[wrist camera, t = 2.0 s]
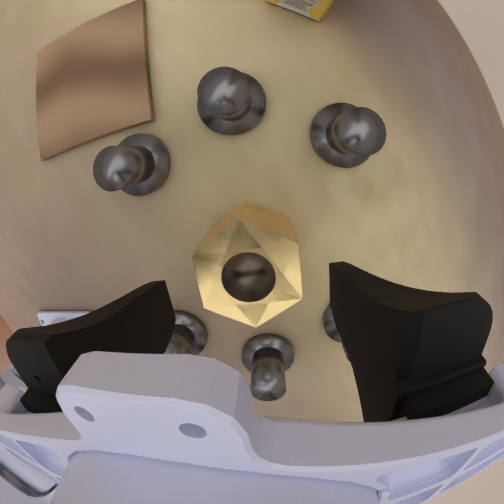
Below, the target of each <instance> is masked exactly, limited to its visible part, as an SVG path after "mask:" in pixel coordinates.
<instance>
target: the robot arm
mask: <svg viewBox="0 0 504 504" xmlns="http://www.w3.org/2000/svg"><path fill="white" fill-rule="evenodd" d="M329 275H330V307H331V311H332V315H333V319H334V323H335V325H336V328H337V330H338V332H339V335H340V337H341V340H342V342H343V344H344V347H345V349H346V352H347V354H348V357H349V359H350V362H351V365H352V368H353V372H354V376H355V380H356V384H357V388H358V393H359V397H360V402H361V407H362V413H363V419H364V422H321V421H305V420H293V419H283V418H274V417H266V416H261V415H259V414H258V413H257V410H256V408H255V406H254V402H253V397H252V393H251V389H250V387H249V386H248V384H247V383H246V381H245V380H244V378H243V376H242V375H241V373H240V372H239V371H237V370H235V369H233V368H231V367H230V366H228V365H226V364H224V363H223V362H221V361H219V360H218V359H214V358H208V357H202V356H196V355H191V354H164V353H165V351H166V349H167V346H168V344H169V342H170V339H171V337H172V334H173V330H174V326H175V322H176V317H175V313H174V310H173V307H172V303H171V300H170V297H169V293H168V290H167V286H166V282H165V280H163V281H153V282H150V283H147V284H145V285H143V286H141V287H139V288H137V289H135V290H133V291H131V292H130V293H128V294H126V295H124V296H122V297H121V298H119V299H117V300H115V301H113V302H111V303H109V304H107V305H105V306H103V307H101V308H99V309H97V310H95V311H92V312H90V311H40V312H38V314H37V316H38V318H39V321H40V323H41V325H42V326H39V327H31V328H22V329H18V330H17V331H16V332H15V333H14V334H13V335H12V336H11V337H10V338H9V339H8V340H7V342H6V349H7V353H8V356H9V359H10V360H11V362H12V363H11V364H10V366H9V367H8V368H7V369H5V370H4V371H3V372H2V373H1V374H0V504H421V503H423V502H425V501H427V500H429V499H432V498H434V497H436V496H438V495H439V494H442V493H444V492H446V491H447V490H449V489H451V488H453V487H455V486H456V485H458V484H460V483H462V482H464V481H465V480H467V479H469V478H470V477H472V476H474V475H475V474H477V473H479V472H480V471H482V470H483V469H485V468H487V467H488V466H490V465H491V464H493V463H494V462H496V461H497V460H498V459H500V458H502V457H503V456H504V362H503V363H501V364H499V365H497V366H496V367H494V368H493V369H492V370H491V371H490V372H489V374H488V373H487V371H486V370H485V369H484V366H485V365H486V360H485V358H484V357H483V356H482V355H481V354H482V352H483V349H484V346H485V344H486V341H487V338H488V336H489V333H490V329H491V325H492V314H493V312H492V309H491V306H490V305H489V304H488V302H487V301H486V300H484V299H483V298H482V297H481V296H480V295H479V294H478V293H476V292H464V293H447V292H434V291H426V290H421V289H415V288H410V287H406V286H403V285H399V284H396V283H393V282H390V281H387V280H384V279H382V278H379V277H377V276H375V275H372V274H370V273H368V272H366V271H364V270H362V269H360V268H358V267H355V266H353V265H351V264H349V263H347V262H335V263H329Z"/></svg>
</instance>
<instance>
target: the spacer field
mask: <svg viewBox="0 0 504 504" xmlns="http://www.w3.org/2000/svg"><path fill="white" fill-rule="evenodd" d="M197 92H198V103H197V106H198V112H199V115H200V117H201V119H202V121H203V122H204V123H205V124H206V125H207V126H208V127H209V128H210V129H212V130H214V131H216V132H218V133H221V134H224V135H239V134H242V133H245V132H247V131H249V130H251V129H252V128H254V127H255V126H256V125H257V124H258V123H259V122H260V120H261V119H262V117H263V115H264V112H265V108H266V97H265V93H264V90H263V88H262V86H261V85H260V84H259V82H258V81H257V80H256V79H254V78H253V77H251V76H250V75H248V74H245V73H242V72H240V71H238V70H236V69H234V68H231V67H219V68H215V69H213V70H211V71H209V72H208V73H206V74H205V75H204V76H203V78H202V79H201V81H200V83H199V85H198V91H197ZM310 136H311V142H312V145H313V147H314V149H315V151H316V152H317V154H318V155H319V156H320V157H321V158H322V159H323V160H325V161H326V162H328V163H329V164H332V165H334V166H338V167H344V168H349V167H354V166H357V165H360V164H361V163H363V162H364V161H366V160H367V159H368V157H369V156H370V155H372V154H375V153H376V152H378V151H379V150H380V149H381V148H382V147H383V145H384V143H385V140H386V128H385V125H384V122H383V121H382V119H381V118H380V116H379V115H378V114H377V113H375V112H374V111H372V110H371V109H368V108H364V107H356V106H354V105H351V104H347V103H335V104H331V105H328V106H327V107H325V108H323V109H322V110H321V111H320V112H319V113H318V114H317V115H316V116H315V118H314V120H313V122H312V124H311V130H310ZM169 168H170V157H169V153H168V150H167V148H166V146H165V145H164V144H163V142H162V141H161V140H159V139H158V138H157V137H155V136H152V135H149V134H134V135H131V136H129V137H127V138H125V139H124V140H123V141H122V142H121V143H120V144H119V145H118V146H110V147H106V148H104V149H103V150H102V151H100V152H99V154H98V155H97V157H96V159H95V161H94V165H93V174H94V178H95V180H96V182H97V184H98V185H99V186H100V187H101V188H102V189H104V190H106V191H116V190H120V189H122V190H123V191H124V192H126V193H128V194H131V195H135V196H141V195H146V194H148V193H151V192H153V191H155V190H157V189H158V188H159V187H160V186H161V185H162V184H163V183H164V181H165V180H166V178H167V175H168V173H169ZM174 313H175V317H176V322H175V326H174V330H173V334H172V337H171V339H170V342H169V344H168V346H167V349H166V351H165V353H164V354H191V355H196V354H198V353H200V352H201V351H202V350H203V349H204V347H205V344H206V341H207V331H206V328H205V326H204V325H203V323H202V322H201V321H200V320H199V319H198V318H197V317H195V316H194V315H192V314H190V313H187V312H184V311H174ZM323 324H324V328H325V331H326V333H327V334H328V336H329V337H330V338H332V339H333V340H335V341H338V342H341V343H342V346H343V349H344V352H345V354H346V357H347V359H348V360H349V361H350V359H349V357H348V354H347V352H346V349H345V347H344V344H343V342H342V340H341V337H340V335H339V332H338V330H337V328H336V325H335V323H334V319H333V315H332V311H331V307H330V304H329V306H328V307H327V308H326V310H325V313H324V316H323ZM293 360H294V352H293V347H292V345H291V343H290V342H289V341H288V340H287V339H285V338H284V337H282V336H279V335H276V334H261V335H258V336H255V337H253V338H251V339H250V340H249V341H248V342H247V343H246V344H245V345H244V348H243V352H242V361H243V364H244V366H245V367H246V368H247V369H248V370H249V371H251V387H250V389H251V393H252V395H253V396H254V397H255V398H257V399H259V400H262V401H273V400H277V399H279V398H281V397H282V396H283V395H284V394H285V392H286V384H285V371H286V370H288V369H289V368H290V366H291V365H292V363H293Z"/></svg>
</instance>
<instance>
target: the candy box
mask: <svg viewBox="0 0 504 504" xmlns="http://www.w3.org/2000/svg"><path fill="white" fill-rule="evenodd" d="M265 1H266V2H267V3H270V4H273V5H277V6H280V7H283V8H285V9H288V10H291V11H294V12H297V13H299V14H302V15H304V16H307V17H309V18H311V19H314V20H316V21H318V22H320V21H322V20H323V18H324V17H325V15H326V13H327V11H328V10H329V8H330V6H331V4H332V2H333V1H334V0H265Z"/></svg>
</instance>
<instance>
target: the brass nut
mask: <svg viewBox="0 0 504 504" xmlns="http://www.w3.org/2000/svg"><path fill="white" fill-rule="evenodd" d="M192 259H193V263H194V268H195V272H196V276H197V281H198V285H199V289H200V294H201V298H202V302H203V306H204V308H205V309H208V310H210V311H213V312H215V313H218V314H221V315H223V316H226V317H229V318H231V319H234V320H237V321H239V322H242V323H245V324H248V325H251V326H253V327H258V326H259V325H261V324H263V323H264V322H266V321H268V320H269V319H271V318H273V317H274V316H276V315H278V314H279V313H281V312H282V311H284V310H286V309H287V308H289V307H290V306H292V305H293V304H295V303H297V302H298V301H300V300H301V299H303V298H302V283H301V269H300V256H299V244H298V241H297V238H296V235H295V233H294V230H293V227H292V224H291V222H290V219H289V218H287V217H285V216H282V215H280V214H277V213H275V212H273V211H270V210H268V209H265V208H263V207H261V206H258V205H256V204H253V203H251V202H248V201H245V202H244V203H243V204H241V205H240V206H239V207H237V208H236V209H235V210H233V211H232V212H231V213H230V214H228V215H227V216H226V217H224V218H223V219H222V220H220V221H219V222H218V223H217V224H215V225H214V226H213V227H212V228H210V230H209V231H208V233H207V234H206V236H205V237H204V239H203V240H202V242H201V243H200V244H199V246H198V247H197V249H196V250H195V252H194V253H193V255H192Z"/></svg>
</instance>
